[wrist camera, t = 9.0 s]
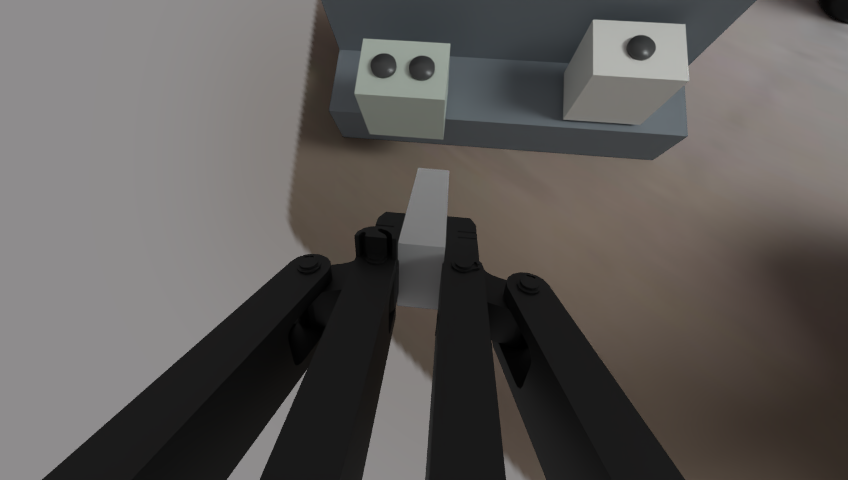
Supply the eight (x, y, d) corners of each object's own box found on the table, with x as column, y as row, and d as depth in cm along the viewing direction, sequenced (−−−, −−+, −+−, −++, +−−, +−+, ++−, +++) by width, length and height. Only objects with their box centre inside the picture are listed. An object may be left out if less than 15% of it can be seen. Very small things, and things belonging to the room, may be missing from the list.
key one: (640, 124, 30) (692, 78, 24) (563, 119, 31) (595, 72, 24) (638, 77, 31) (688, 20, 25) (563, 72, 32) (594, 16, 25)
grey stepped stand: (652, 160, 35) (790, 65, 21) (343, 136, 37) (288, 36, 23) (648, 48, 38) (768, -99, 24) (360, 31, 40) (320, -113, 26)
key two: (443, 139, 31) (444, 97, 24) (369, 134, 31) (353, 91, 25) (447, 92, 32) (450, 40, 26) (376, 87, 32) (362, 35, 26)
